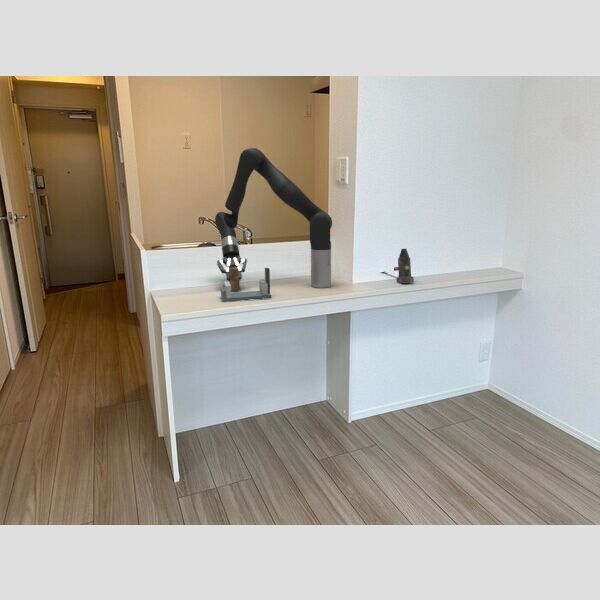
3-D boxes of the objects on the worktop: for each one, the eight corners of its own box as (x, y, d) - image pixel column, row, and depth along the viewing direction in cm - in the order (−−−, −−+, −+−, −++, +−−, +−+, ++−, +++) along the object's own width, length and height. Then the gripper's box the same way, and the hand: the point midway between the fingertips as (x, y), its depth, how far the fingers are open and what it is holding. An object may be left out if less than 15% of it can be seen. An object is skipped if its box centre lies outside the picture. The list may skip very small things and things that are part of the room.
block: (238, 286, 211) (237, 266, 208) (239, 288, 206) (238, 268, 204) (229, 286, 210) (228, 267, 207) (230, 289, 205) (229, 269, 203)
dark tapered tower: (385, 252, 246) (412, 248, 217) (387, 282, 247) (413, 282, 217) (375, 253, 245) (400, 248, 215) (376, 283, 245) (402, 282, 216)
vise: (267, 293, 202) (267, 278, 201) (271, 298, 194) (271, 283, 192) (221, 296, 198) (220, 281, 196) (223, 302, 189) (222, 286, 187)
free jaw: (267, 289, 202) (266, 266, 199) (271, 294, 193) (270, 270, 191) (259, 290, 201) (258, 266, 198) (263, 295, 193) (262, 270, 190)
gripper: (214, 244, 208) (218, 276, 200) (246, 242, 212) (251, 274, 203) (214, 254, 215) (218, 285, 206) (245, 252, 218) (250, 283, 210)
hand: (234, 279), depth 205 cm, fingers closed on block, 4 cm apart
